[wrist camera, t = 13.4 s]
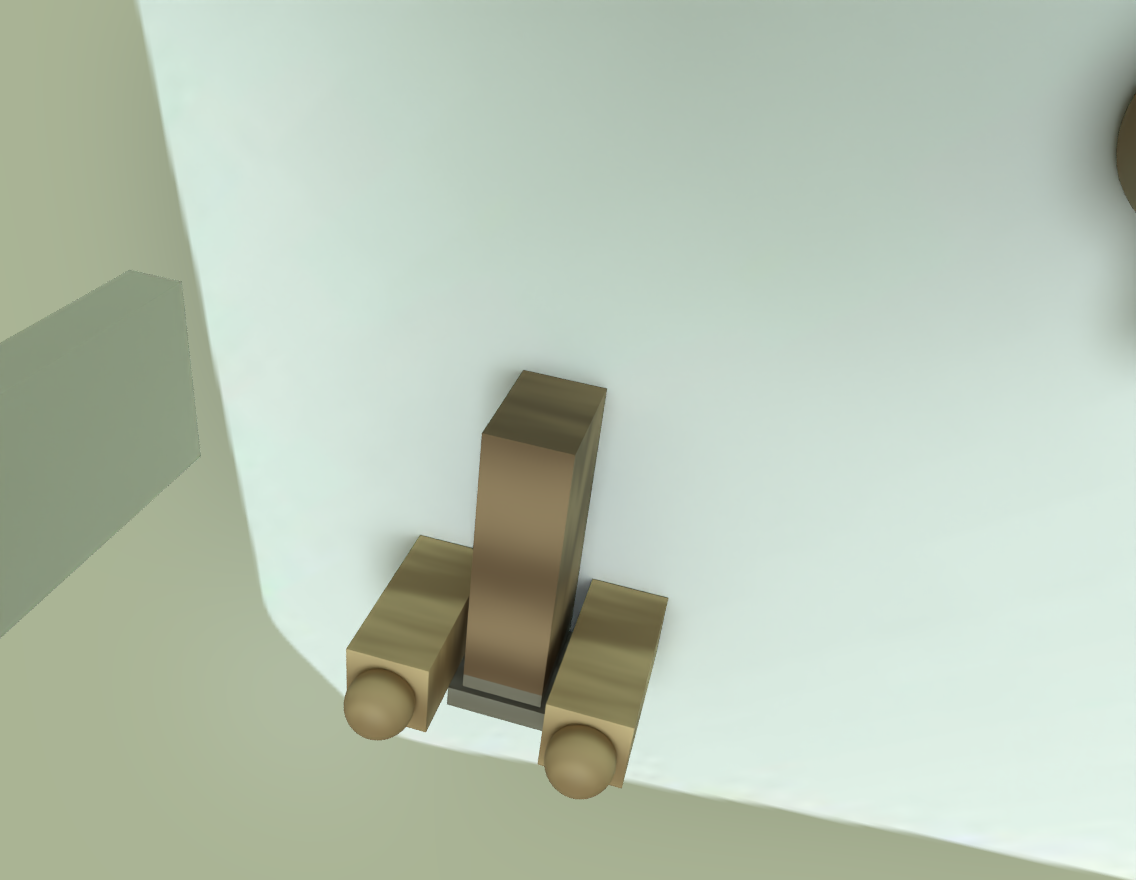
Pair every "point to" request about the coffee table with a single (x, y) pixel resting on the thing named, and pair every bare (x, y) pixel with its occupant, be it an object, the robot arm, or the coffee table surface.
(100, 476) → the robot arm
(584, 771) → the knobbed wooden twin blocks
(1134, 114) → the mug
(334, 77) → the coffee table surface
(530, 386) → the rail
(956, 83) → the coffee table surface
